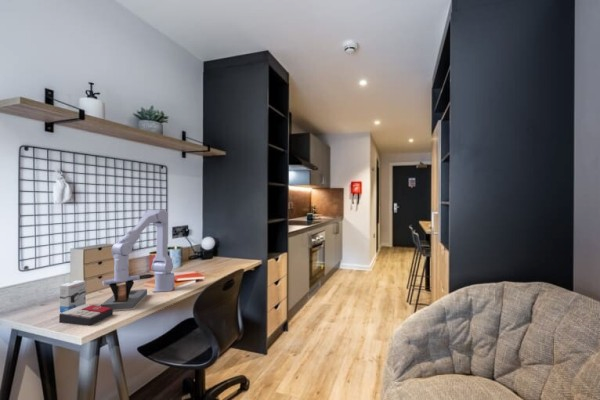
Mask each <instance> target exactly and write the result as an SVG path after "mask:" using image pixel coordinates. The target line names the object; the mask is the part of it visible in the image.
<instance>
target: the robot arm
mask: <svg viewBox="0 0 600 400" xmlns="http://www.w3.org/2000/svg"><path fill="white" fill-rule="evenodd" d="M168 214H169V213H168V212H167V211H166V210H164V209H150V208H148V209H145V211H144V212H143V213H142V217H141V219H140V220H139V221H138V223H137V224H136V226H135V227H134V228H133V229H129V230H127V231H126V233H125V235H123V237H122V238H121V239H120V240H119V242H115V243H114V244H113V245H112V246H111V249H110V252H111V254H112V258H113V259H114V261H113V262H114V264H113V265H114V267H113V268H114V269H113V272H114V275H113V277H114V278H111V279H106V280H102V281H101V282H102V286H103V287H107V286H109V287H110V289H111V291H112V292H111V293H112V295H114V299H115V300H117V289H118V286H117V285H118V284H126V285H127V298H129V293H130V290H132V288H133V286H134V285H135V281H141V280H140V278H141V277H140V275H130V274H129V273H130V264H129V263H130V259H129V256H130V254H131V253H132V251H133V247H134V245H135V244H136V243H137V242H138V240H139V239H140V238H141V234H142V232H143V231H144V230H145V229H146V228H147V227H148V226H149V225H151V224H153V225H154V226H155V227H156V256H154V258H153V259H152V263H151V270H152V272H153V274H154V289H153V290H152V293H156V292H157V293H158V292H160V293H161V292H172V291H173V289H174V288H175V287H174V286H175V273H174V272H172V271H173V269H174V262H173V258H172V257H171V256H170V255H168V254H169V252H168V245H169V244H168V243H169V242H168V241H169V239H168V238H169V237H168V236H169V234H168V232H169V231H168V229H169V227H168V226H169V223H168V222H169V221H168Z"/></svg>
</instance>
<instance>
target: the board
mask: <svg viewBox="0 0 600 400" xmlns="http://www.w3.org/2000/svg"><path fill="white" fill-rule="evenodd" d="M147 295H148V288H147V289H146V288H144V289H142V288H141V289H131V290H130V293H129V298H127V301H126V302H116V300H115V299H114V294H112V296H110V297H109V298H107V300H105V301H104V302H103V303H101V304H100V306H102V307H108V308H111V309H113V312H115V311H128V310H135V308H136V307H138V306H139V304H140V303H141V302H143V300H145V298H146V297H147Z"/></svg>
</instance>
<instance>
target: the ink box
mask: <svg viewBox="0 0 600 400" xmlns="http://www.w3.org/2000/svg"><path fill="white" fill-rule="evenodd" d="M86 284H87V282H86V280H79V279H78V280H72V281H69V282H66V283H62V284H61V285H59V313H63V312H65V311H68V310H70V309H73V308H76V307H78V306H81V305H84V304H86V305H87V303H86V302H87V301H86V300H87V299H86V298H87V297H86V295H87V293H86V292H87V289H86V287H87V285H86Z"/></svg>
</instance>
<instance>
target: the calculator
mask: <svg viewBox="0 0 600 400" xmlns="http://www.w3.org/2000/svg"><path fill="white" fill-rule="evenodd" d="M113 312H114V311H113V309H111V308H108V307H102V306H101V305H94V304H91V305H90V304H87V303H86V304H84V305H81V306H78V307H76V308H73V309H70V310H68V311H65V312H60V313H59V319H58V322H59V323H60V324H61V323H62V324H72V325H73V324H74V325H79V326H80V325H81V326H87V325H88V327H89V326H92V325H95V324H97V323H100V322H101V321H103V320H105V319H108V318H110V317H111V316H113ZM109 316H110V317H109ZM107 317H108V318H107Z"/></svg>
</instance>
